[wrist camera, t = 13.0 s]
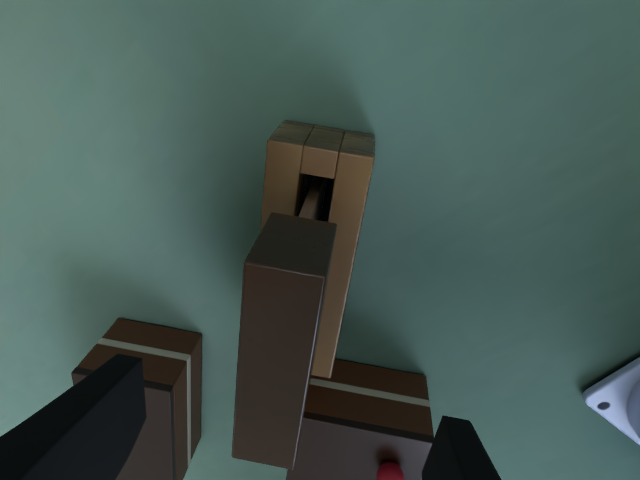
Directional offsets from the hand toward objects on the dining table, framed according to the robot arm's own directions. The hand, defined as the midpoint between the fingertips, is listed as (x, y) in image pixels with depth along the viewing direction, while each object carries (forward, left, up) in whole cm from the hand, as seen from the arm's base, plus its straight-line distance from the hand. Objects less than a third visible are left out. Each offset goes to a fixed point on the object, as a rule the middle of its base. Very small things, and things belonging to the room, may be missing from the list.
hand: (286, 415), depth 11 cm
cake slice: (+1, +13, -10) cm, 17 cm away
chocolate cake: (-8, +8, -10) cm, 15 cm away
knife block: (0, +1, -10) cm, 10 cm away
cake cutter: (0, +1, -10) cm, 10 cm away
